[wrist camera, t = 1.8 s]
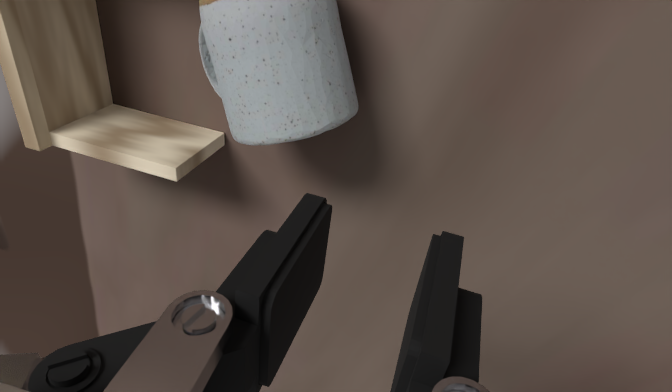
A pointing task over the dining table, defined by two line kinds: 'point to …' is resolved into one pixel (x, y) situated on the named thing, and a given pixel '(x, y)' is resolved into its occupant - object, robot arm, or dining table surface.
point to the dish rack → (85, 93)
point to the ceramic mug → (277, 67)
